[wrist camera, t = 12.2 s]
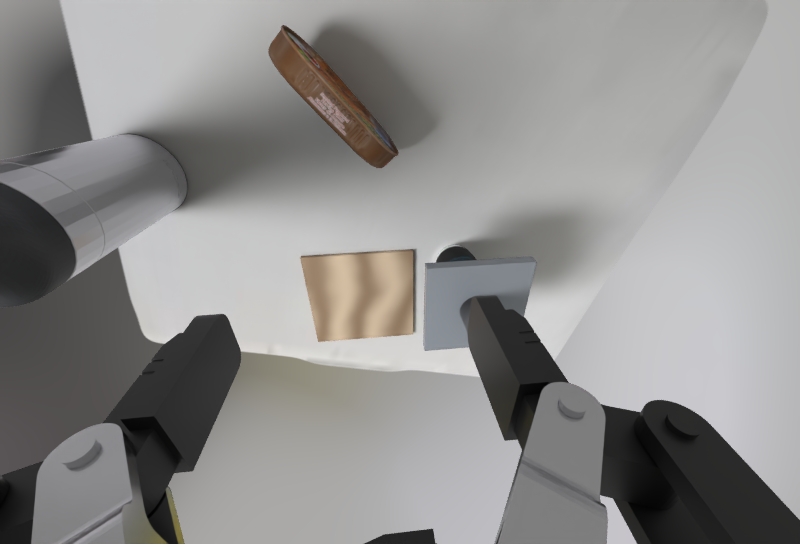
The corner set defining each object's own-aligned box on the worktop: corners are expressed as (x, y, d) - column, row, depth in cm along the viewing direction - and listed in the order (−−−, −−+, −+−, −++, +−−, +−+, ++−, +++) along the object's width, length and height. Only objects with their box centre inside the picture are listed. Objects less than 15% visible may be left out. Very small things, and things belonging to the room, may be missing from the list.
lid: (423, 344, 40) (433, 390, 34) (425, 263, 34) (438, 303, 28) (513, 336, 41) (539, 381, 35) (531, 256, 35) (566, 293, 29)
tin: (397, 144, 38) (404, 159, 31) (379, 163, 39) (381, 181, 32) (296, 28, 31) (275, 13, 24) (276, 54, 32) (251, 46, 25)
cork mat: (318, 339, 53) (318, 341, 52) (301, 256, 44) (300, 258, 44) (412, 332, 54) (413, 334, 53) (412, 249, 45) (413, 251, 45)
